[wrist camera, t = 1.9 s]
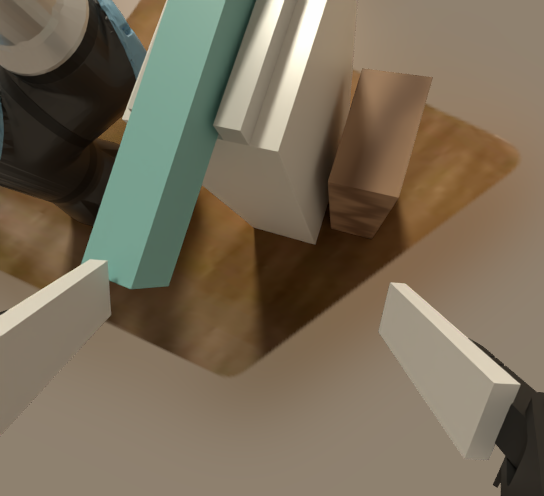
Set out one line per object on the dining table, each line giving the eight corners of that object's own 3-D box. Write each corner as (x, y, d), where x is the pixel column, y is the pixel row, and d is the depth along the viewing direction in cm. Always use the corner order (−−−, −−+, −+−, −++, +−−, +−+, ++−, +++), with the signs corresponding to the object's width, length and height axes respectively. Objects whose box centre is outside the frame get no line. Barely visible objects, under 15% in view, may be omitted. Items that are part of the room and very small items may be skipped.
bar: (124, 268, 17) (79, 268, 14) (254, -129, 17) (236, -210, 14) (168, 286, 16) (131, 289, 13) (303, -129, 16) (296, -215, 14)
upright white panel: (253, 227, 47) (88, 91, 15) (285, 128, 48) (194, -181, 17) (315, 244, 44) (267, 125, 13) (347, 139, 46) (372, -196, 15)
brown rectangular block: (330, 228, 44) (327, 181, 26) (351, 160, 45) (362, 68, 27) (371, 239, 43) (398, 197, 25) (391, 168, 44) (432, 77, 26)
